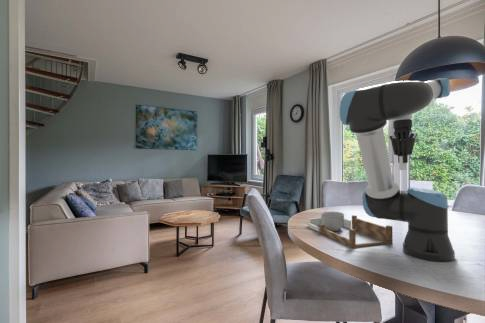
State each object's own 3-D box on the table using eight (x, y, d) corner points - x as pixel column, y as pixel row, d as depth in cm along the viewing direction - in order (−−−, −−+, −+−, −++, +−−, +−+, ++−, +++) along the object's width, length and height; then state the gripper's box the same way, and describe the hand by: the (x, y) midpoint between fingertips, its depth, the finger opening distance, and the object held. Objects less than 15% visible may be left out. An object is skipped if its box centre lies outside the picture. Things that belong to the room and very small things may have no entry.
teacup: (347, 232, 119) (347, 215, 119) (324, 232, 120) (324, 215, 120) (337, 225, 133) (337, 210, 133) (316, 225, 134) (316, 210, 134)
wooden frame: (392, 243, 103) (392, 226, 103) (352, 248, 98) (352, 230, 98) (354, 229, 124) (354, 215, 124) (319, 232, 119) (319, 218, 119)
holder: (351, 228, 126) (351, 220, 126) (317, 231, 121) (317, 223, 121) (337, 223, 136) (337, 216, 136) (306, 226, 131) (306, 218, 131)
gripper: (421, 117, 114) (422, 170, 114) (396, 122, 126) (397, 169, 126) (408, 117, 112) (409, 170, 112) (384, 121, 124) (385, 169, 124)
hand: (402, 169), depth 119 cm, fingers closed
